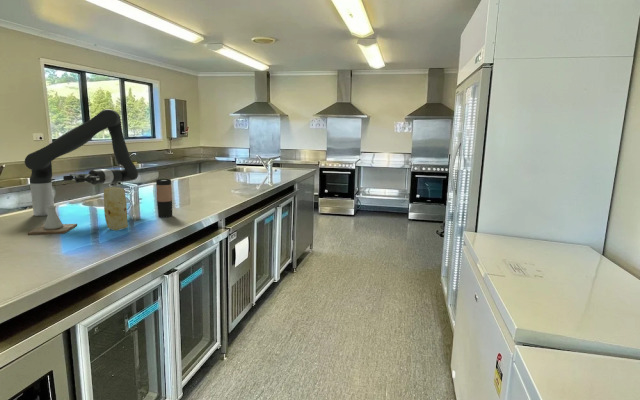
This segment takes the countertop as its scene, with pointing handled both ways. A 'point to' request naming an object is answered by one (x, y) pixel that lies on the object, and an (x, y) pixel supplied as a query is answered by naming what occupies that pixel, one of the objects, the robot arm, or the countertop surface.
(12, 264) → the countertop surface
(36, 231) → the walnut board
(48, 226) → the flask
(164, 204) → the travel mug
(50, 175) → the robot arm
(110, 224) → the food model
